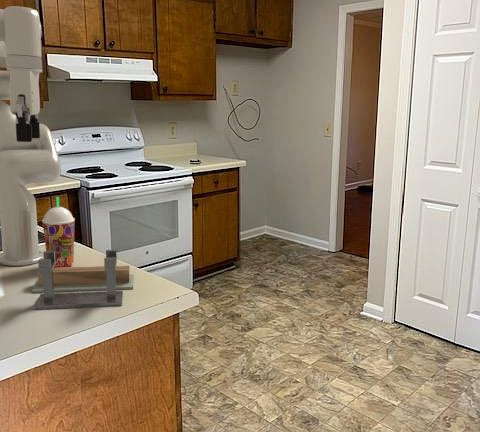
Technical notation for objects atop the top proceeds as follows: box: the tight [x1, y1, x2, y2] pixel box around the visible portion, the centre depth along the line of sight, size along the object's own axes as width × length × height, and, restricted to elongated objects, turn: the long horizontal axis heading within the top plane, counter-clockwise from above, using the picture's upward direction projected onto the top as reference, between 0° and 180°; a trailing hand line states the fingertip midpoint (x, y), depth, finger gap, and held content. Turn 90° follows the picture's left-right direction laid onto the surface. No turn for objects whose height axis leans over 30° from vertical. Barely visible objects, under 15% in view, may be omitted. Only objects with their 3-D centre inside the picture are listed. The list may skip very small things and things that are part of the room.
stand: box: [34, 249, 124, 310], centre depth 114 cm, size 7×19×11 cm, turn 101°
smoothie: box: [41, 196, 76, 268], centre depth 136 cm, size 8×8×20 cm
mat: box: [31, 274, 135, 294], centre depth 126 cm, size 9×24×1 cm, turn 101°
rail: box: [37, 265, 131, 286], centre depth 126 cm, size 4×22×4 cm, turn 101°
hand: (28, 139), depth 117 cm, fingers open, 9 cm apart
